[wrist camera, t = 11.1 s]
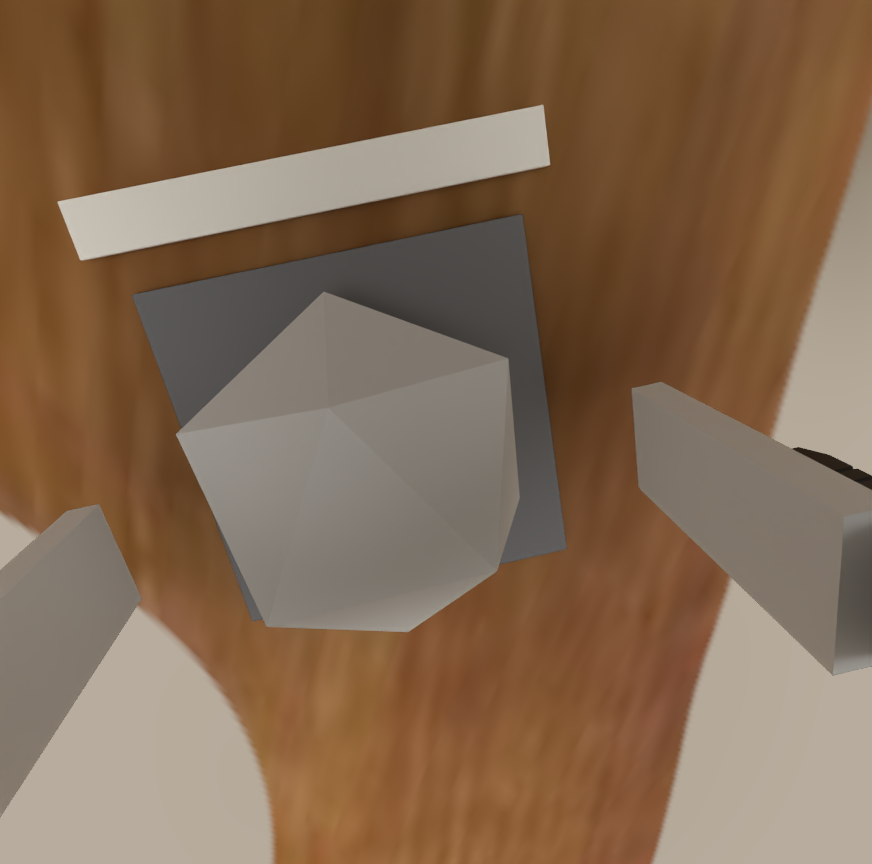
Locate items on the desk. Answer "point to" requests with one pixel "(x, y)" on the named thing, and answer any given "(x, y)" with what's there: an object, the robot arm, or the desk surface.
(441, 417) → the die
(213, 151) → the desk surface
